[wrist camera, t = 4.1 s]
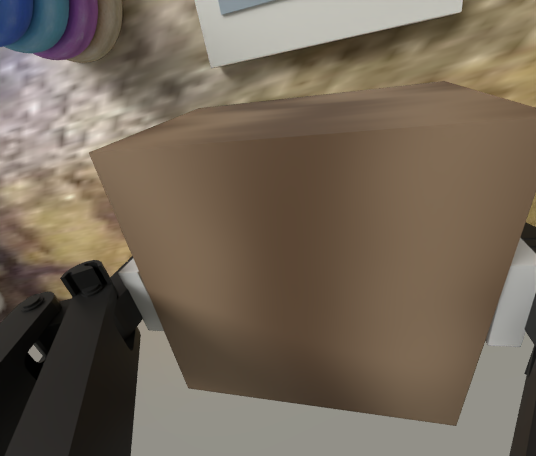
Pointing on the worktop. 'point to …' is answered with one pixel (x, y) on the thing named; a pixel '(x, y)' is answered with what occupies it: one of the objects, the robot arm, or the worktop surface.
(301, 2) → the baseplate
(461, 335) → the walnut block
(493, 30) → the worktop surface
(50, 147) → the worktop surface
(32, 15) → the stacking toy
